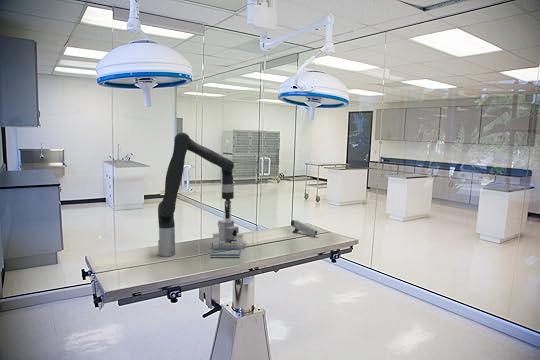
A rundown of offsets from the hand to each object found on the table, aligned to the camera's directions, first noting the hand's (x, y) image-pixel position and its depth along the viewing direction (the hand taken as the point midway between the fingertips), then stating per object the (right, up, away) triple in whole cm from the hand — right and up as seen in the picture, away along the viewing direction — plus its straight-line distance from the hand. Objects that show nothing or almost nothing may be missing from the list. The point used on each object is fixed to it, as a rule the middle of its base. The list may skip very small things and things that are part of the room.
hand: (227, 217), depth 225 cm
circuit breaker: (-1, -19, +18) cm, 27 cm away
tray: (0, -22, -10) cm, 24 cm away
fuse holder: (0, -21, +2) cm, 21 cm away
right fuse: (+7, -19, +2) cm, 21 cm away
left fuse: (-8, -19, +2) cm, 21 cm away
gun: (+52, -18, +41) cm, 69 cm away
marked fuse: (0, -3, 0) cm, 3 cm away
